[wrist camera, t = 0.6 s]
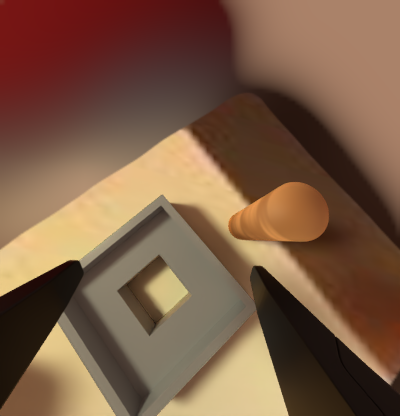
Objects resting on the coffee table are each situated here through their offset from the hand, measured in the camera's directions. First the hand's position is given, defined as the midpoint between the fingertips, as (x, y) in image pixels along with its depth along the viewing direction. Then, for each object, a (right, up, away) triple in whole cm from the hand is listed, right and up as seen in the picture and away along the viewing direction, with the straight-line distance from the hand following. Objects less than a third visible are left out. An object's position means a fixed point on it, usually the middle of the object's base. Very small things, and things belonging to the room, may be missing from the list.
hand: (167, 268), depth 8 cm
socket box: (-4, -8, +13) cm, 16 cm away
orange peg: (+8, 0, +15) cm, 17 cm away
